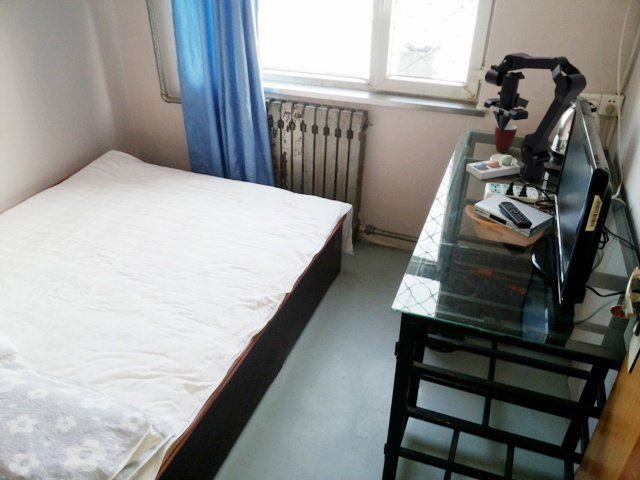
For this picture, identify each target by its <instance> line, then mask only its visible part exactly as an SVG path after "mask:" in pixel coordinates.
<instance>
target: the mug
mask: <svg viewBox="0 0 640 480" xmlns="http://www.w3.org/2000/svg"><path fill="white" fill-rule="evenodd" d="M517 128H518V127H517V126H516V125H514V124H511V123H508V124H507V126H506V128H505V129H504V131H503V132H501V131H500V130H499V127H498V124H497V123H496V125H495V128H494V147H495V149H496V151H497V152H500V153H505V152H506V153H507V152H508V151H509V149H510V148H511V147H512V144H513V142H514V140H515V137H516V134H517V130H518V129H517Z"/></svg>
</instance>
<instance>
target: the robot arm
mask: <svg viewBox="0 0 640 480" xmlns="http://www.w3.org/2000/svg"><path fill="white" fill-rule="evenodd" d="M525 69H530V70H531V69H533V70H550V72H551V78H552V81H553V82H554V84H555V88H554V93H553V94H554V98H553V100H552V101H551V103H550V105H549V107H548V108H547V110H546V112H545V114H544V116H543V117H542V118H541V121H540V122H539V124H538V126H537V128H536V129H535V131H534V132H533V133H528V134H527V133H526V135H525V136H524V138H523V140H522V142H521V143H520V145H521V146H520V157H521V163H523V168H522V173H521V174H520V173H519V174H518V176H519V177H520V178H522V179H523V180H525V181H527V182H529V183H536V182H542V181H545V178H546V177H545V178H544V177H543V173H544V168H545V163H549V162H550V161H551V159H552V156H551V154H550V152H549V149H548V148H549V145H550V144H549V143H550V141H549V138H550V136H551V134H552V133H553V130H554V129H555V127H556V126H557V125H558V122H560V119H561V118H562V116H563V114H564V113H565V111H566V109H567V108H568V106H569V104H570V103H571V102H573V100H575V99H576V98H577V97H579V96H580V95H581V94H582V93H583V91H584V90H585V89H586V87H587V85H588V82H587V79H586V76H585V75H584V74H582V72H581V71H580V69H579V68H577V66H574V64H572V63H571V62H570V61H569V60H568V58H567V57H566V56H563V55H562V56H532V55H529V54H528V53H524V52H516V53H508V54H506V55H504V57H503V60H502V61H501V62H500V63H499V64H491V65H490V68H489V69H488V70H487V71H486V72H485V73H486V74H485V75H484V81H485V82H486V83H487V84H489V85H493V86H496V87H500V91H497V95H498V96H499V98H497V97H494V98H487V99H486V100H484V104H483V108H486V109H490V108H491V107H494V110H492V114H493V116H494V117H495V120H496V125H497V124H498V127H499V130H500V131H501V132H503V131H504V129H505V128H506V126H507V124H510V121H511V120H513V121H520V120H521V121H522V120H528V118H529V115H530V112H529V111H528V110H526V108H527V107H528V104H529V103H530V101H529V99H526V98H523V97H521V94H520V92H518V89H519V84H520V80H525V79H526V77H525V75H524V74H523V72H522V71H519V70H525ZM515 71H517V72H515ZM563 73H564V74H565V75H564V74H563Z"/></svg>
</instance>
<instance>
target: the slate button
mask: <svg viewBox="0 0 640 480" xmlns="http://www.w3.org/2000/svg"><path fill="white" fill-rule="evenodd" d="M476 163H477V162H476ZM486 166H487V164H486V163H483V161H478V163H477V164H476V169H478V170H485V169H486Z"/></svg>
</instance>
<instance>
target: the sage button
mask: <svg viewBox="0 0 640 480" xmlns="http://www.w3.org/2000/svg"><path fill="white" fill-rule="evenodd" d="M501 159H502V161H501V162H502V165H504V166H510V165H511V163H512V162H513V156H512V155H510V154H502V156H501Z"/></svg>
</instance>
